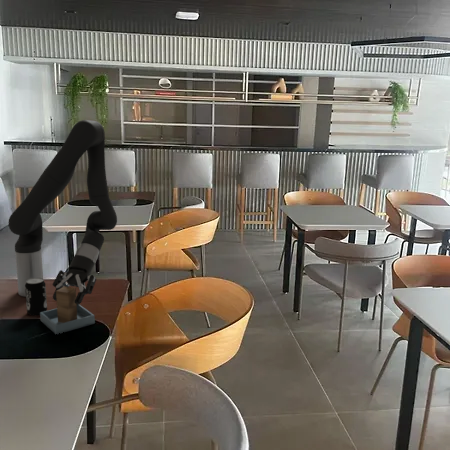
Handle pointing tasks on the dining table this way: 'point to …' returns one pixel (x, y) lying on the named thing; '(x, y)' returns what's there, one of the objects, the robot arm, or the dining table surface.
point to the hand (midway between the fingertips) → (65, 301)
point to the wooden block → (66, 304)
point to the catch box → (57, 327)
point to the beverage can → (35, 296)
